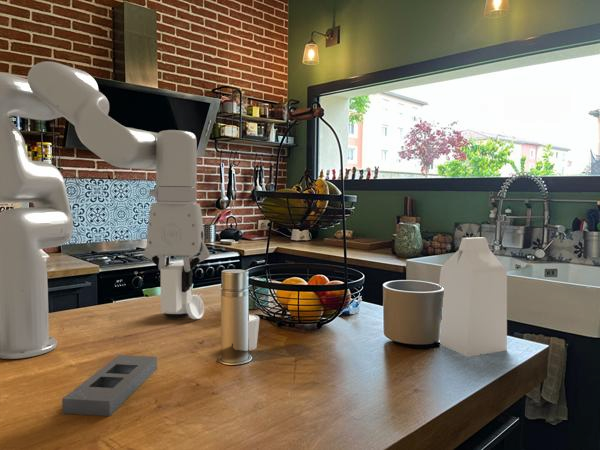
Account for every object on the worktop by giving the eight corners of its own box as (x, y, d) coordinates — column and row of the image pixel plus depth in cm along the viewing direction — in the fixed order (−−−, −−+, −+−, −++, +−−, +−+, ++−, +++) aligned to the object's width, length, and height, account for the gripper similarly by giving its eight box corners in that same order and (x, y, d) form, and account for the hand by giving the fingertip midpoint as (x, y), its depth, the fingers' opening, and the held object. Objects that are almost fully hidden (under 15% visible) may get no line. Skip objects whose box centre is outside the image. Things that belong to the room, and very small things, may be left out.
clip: (160, 311, 89) (160, 269, 88) (177, 299, 98) (177, 261, 97) (176, 312, 88) (176, 269, 88) (191, 300, 97) (191, 261, 97)
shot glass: (254, 353, 106) (254, 322, 106) (225, 350, 108) (225, 320, 107) (262, 343, 113) (263, 314, 112) (235, 341, 114) (235, 312, 114)
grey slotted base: (62, 413, 77) (62, 398, 77) (119, 366, 97) (118, 354, 97) (109, 416, 77) (109, 401, 76) (157, 368, 97) (156, 356, 96)
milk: (471, 335, 122) (475, 234, 119) (506, 350, 111) (512, 239, 109) (433, 341, 117) (437, 236, 115) (466, 356, 106) (472, 241, 104)
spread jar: (167, 311, 140) (166, 272, 139) (206, 310, 141) (206, 271, 140) (159, 322, 128) (159, 280, 127) (202, 322, 130) (202, 280, 129)
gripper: (126, 195, 88) (127, 293, 90) (213, 197, 87) (212, 296, 88) (143, 194, 96) (143, 284, 97) (223, 196, 94) (222, 287, 96)
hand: (176, 289), depth 93 cm, fingers closed on clip, 3 cm apart
